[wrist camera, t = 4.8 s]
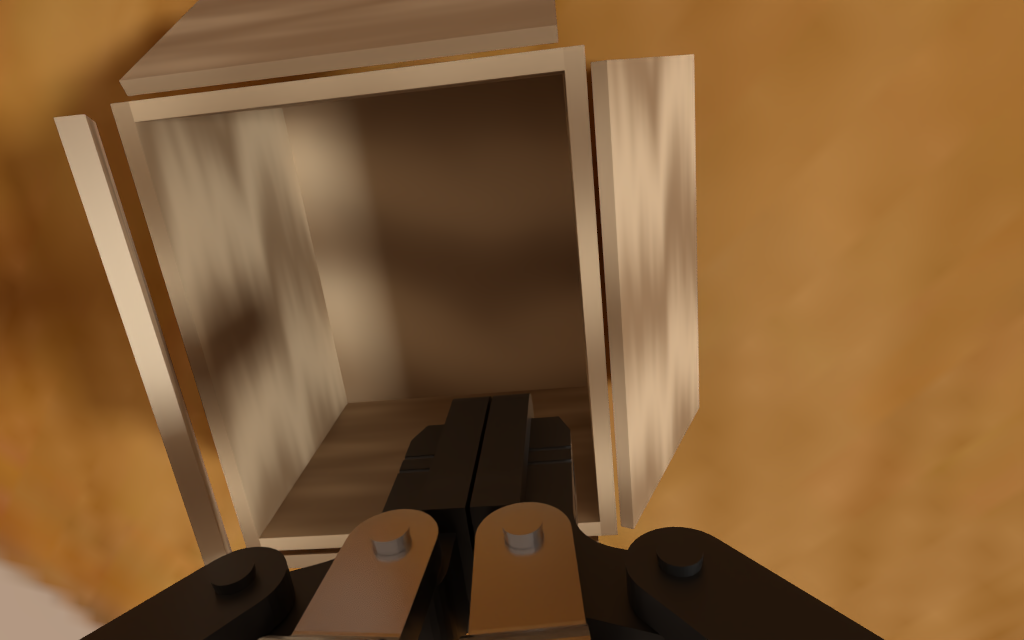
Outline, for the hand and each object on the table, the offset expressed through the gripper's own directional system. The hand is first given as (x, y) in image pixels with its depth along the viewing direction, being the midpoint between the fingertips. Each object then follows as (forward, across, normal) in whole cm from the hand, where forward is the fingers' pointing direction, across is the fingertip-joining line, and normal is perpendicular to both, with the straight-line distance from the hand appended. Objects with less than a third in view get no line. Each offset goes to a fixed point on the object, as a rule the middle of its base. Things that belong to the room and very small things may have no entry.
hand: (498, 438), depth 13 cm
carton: (+16, +2, 0) cm, 16 cm away
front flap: (+5, +10, 0) cm, 11 cm away
